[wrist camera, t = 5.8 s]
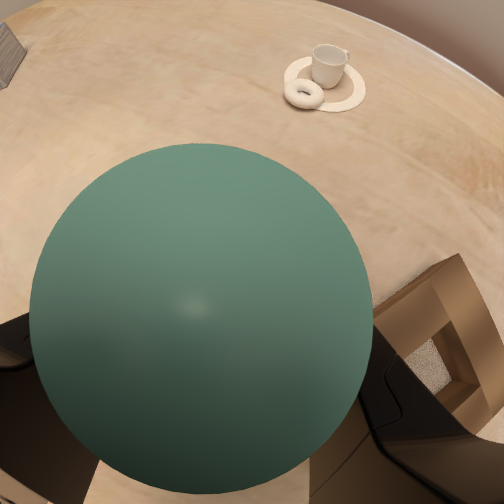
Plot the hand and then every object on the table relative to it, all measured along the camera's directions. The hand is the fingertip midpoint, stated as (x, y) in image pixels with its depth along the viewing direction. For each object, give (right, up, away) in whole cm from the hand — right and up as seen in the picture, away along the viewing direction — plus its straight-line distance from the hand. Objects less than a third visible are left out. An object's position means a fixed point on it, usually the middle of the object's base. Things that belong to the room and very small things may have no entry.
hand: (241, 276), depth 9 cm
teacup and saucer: (+4, +17, +19) cm, 26 cm away
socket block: (+12, -8, +11) cm, 18 cm away
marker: (0, -3, +6) cm, 7 cm away
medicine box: (-38, +29, +23) cm, 53 cm away
